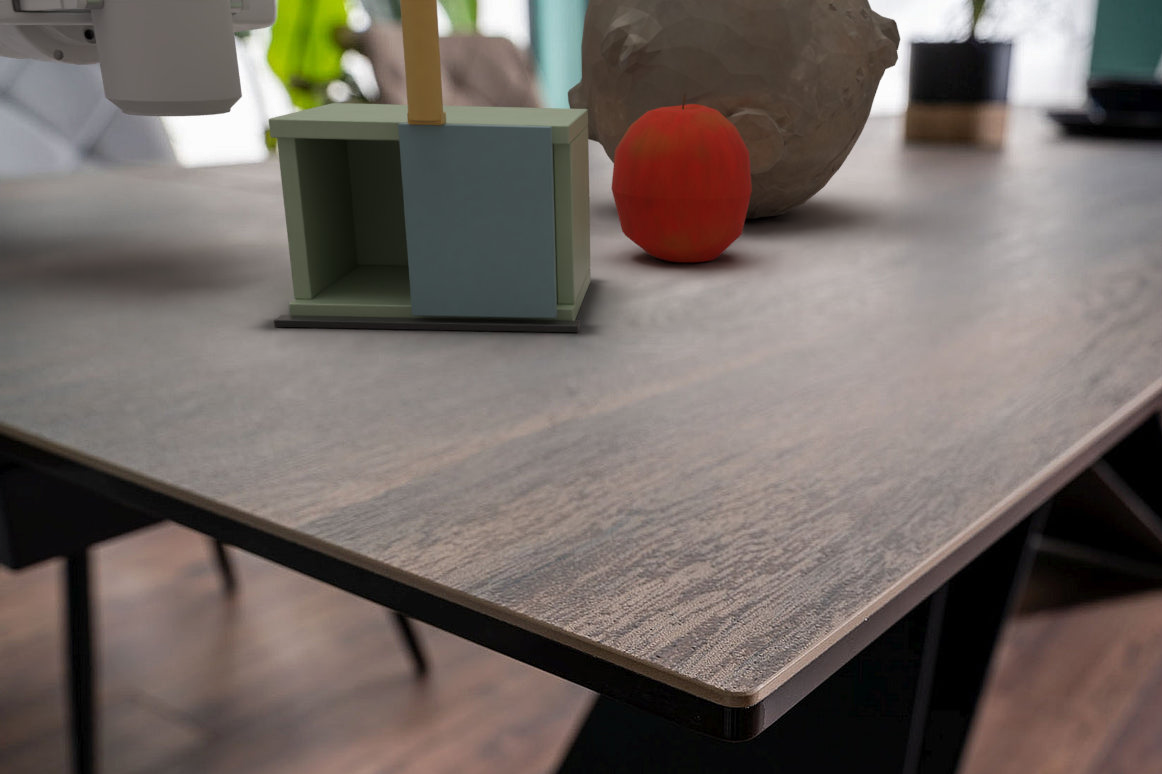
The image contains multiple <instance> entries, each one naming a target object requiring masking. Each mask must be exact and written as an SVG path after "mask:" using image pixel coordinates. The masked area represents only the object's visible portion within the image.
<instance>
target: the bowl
mask: <svg viewBox="0 0 1162 774" xmlns="http://www.w3.org/2000/svg"><path fill="white" fill-rule="evenodd" d="M900 43H901V36H900V31H899V28H898V24H897V22H896V19H893V18H889V17H886V16H882V15H881V14H879V13H877V12H876V11H875V10H873V9H872V7H871V4H870V2H869V0H588V4H587V7H586V10H585V15H584V20H583V29H582V37H581V46H580V48H581V49H580V50H581V51H580V52H581V55H580V56H581V78H580V81H579V82H578V83H577V84H575V85H574V86H573V87H571V88H569V90H568V91H567V101H568V105H569V109H587V110H588V125H587V126H588V141H593V142H597V143H599V144H600V145H601V146H602V148H603V150H604V152H605V154H606V156H607V157H608V159H610V161H611V162H612V164H614V157H615V149H616V147H617V146H618V144H619V143H620V141H621V140H622V138H623V136H624V135H625V133H626V132H627V130H628V129H629V127H630V125H632V124H633V123H634V122H635V121H636V120H638V119H639V118H640V117H641V116H643V115H644V114H645V113H646V112H647V111H650V110H654V109H657V108H661V107H670V106H680V105H683V99H684V94H685V95H686V99H685V104H684V105H689V104H698V105H703V106H706V107H709V108H712V109H715V110H717V111H719V112H720V113H721V114H722V115H723V116H724V117H725V118H726V119H728V120H729V121H730V122H731V123H732V124H733V125H734V126H735V127H736V128H737V130H738V132H739V134H740V136H741V138H742V140H743V141H744V143H745V145H746V147H747V149H748V151H749V158H750V173H751V188H752V191H751V196H750V200H749V205H748V209H747V213H746V218H745V220H752V219H759V218H770V217H777V216H781V215H783V214H786V213H789V212H790V211H792V210H794V209H795V208H798V207H799V206H801V205H805V204H806V202H807V201H808V200H810V199H811V198H813V197H814V196H815V195H816V194H818V193H819V192H820V191H821V190H822V189H823V188H825V187H826V185H828V183H829V181H830V180H831V179H832V178H833V177H834V175H835V174H836V173H838V171H839V170H840V169H841V167H842V166H843V164H844V163H845V161H846V160H847V158H848V157H849V156H850V154H851V152H852V150H853V148H854V147H855V145H856V144H857V142H858V140H859V138H860V136H861V135H862V134H863V131H864V129H865V126H866V124H867V122H868V120H869V117H870V115H871V111H872V108H873V104H874V101H875V98H876V94H877V91H878V88H879V85H880V82H881V80H882V79H883V77H884V75H885V72H886V70H887V69H891V68H893V67H895V66H896V64H897V61H898V60H899V55H898V50H899V46H900Z"/></svg>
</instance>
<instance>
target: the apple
mask: <svg viewBox="0 0 1162 774" xmlns="http://www.w3.org/2000/svg"><path fill="white" fill-rule="evenodd" d="M685 99H686V95H685V94H684V99H683V105H680V106H670V107H661V108H657V109H654V110H650V111H647V112H646V113H645V114H644V115H643V116H641V117H640V118H639V119H638V120H636V121H635V122H634V123H633V124H632V125H630V127H629V129H628V130H627V132H626V133H625V135H624V136H623V138H622V140H621V141H620V143H619V144H618V146H617V147H616V149H615V157H614V163H613V169H612V178H611V191H612V196H613V200H614V204H615V209H616V213H617V217H618V220H619V224H620V228H621V233H622V234H623V235H624V236H625V237H627V238H628V239H629V240H630V241H632V242H633V243H634V244H635V245H636V246H638V247H640V249H642V250H643V251H644V252H645V253H647V254H648V255H650V256H652V257H654V258H657V259H660V260H664V261H666V262H675V263H700V262H701V263H703V262H710V261H714V260H717V258H719V257H720V256H721V255H722V254H723V253H724V252H725V251H726V250H727V249H728V248H729V247H730V246H731V245H732V244H733V243H734V242H735V241H736V240H737V239H738V238H739V237H741V236H742V235H743V231H744V226H745V222H746V219H745V218H746V213H747V209H748V205H749V200H750V196H751V191H752V188H751V173H750V158H749V151H748V149H747V147H746V145H745V143H744V141H743V140H742V138H741V136H740V134H739V132H738V130H737V128H736V127H735V126H734V125H733V124H732V123H731V122H730V121H729V120H728V119H726V118H725V117H724V116H723V115H722V114H721V113H720V112H719V111H717V110H715V109H712V108H709V107H706V106H703V105H698V104H689V105H684V104H685Z"/></svg>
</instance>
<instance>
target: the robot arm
mask: <svg viewBox="0 0 1162 774" xmlns="http://www.w3.org/2000/svg"><path fill="white" fill-rule="evenodd" d="M230 5H231V13H232V21H233V29H234V33H239V32H247V31H254V30H261V29H267V28H269V27H271V26H273V25H274V24H275V23H276V20H277V0H230ZM103 7H104V0H0V57H2V58H3V57H4V58H9V59H18V60H30V59H31V60H35V61H39V62H46V63H47V62H48V63H57V64H66V65H74V66H75V65H76V66H90V65H97V64H100V62H99V56H98V50H97V44H96V38H95V32H94V26H93V20H92V14H91V9H102V8H103Z"/></svg>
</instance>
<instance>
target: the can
mask: <svg viewBox="0 0 1162 774" xmlns="http://www.w3.org/2000/svg"><path fill="white" fill-rule="evenodd" d="M91 14H92V20H93V26H94V32H95V38H96V44H97V50H98V56H99V62H100V63H99V69H100V73H101V81H102V87H103V92H104V97H105V99H107V100H108V101H109V102H111V103H112V104H113V105H114V106H115V107H117V108H118V109H120V110H121V112H122V113H123V114H126V115H130V116H139V117H140V116H141V117H200V116H213V115H215V116H216V115H221V114H222V115H223V114H226V113H230V112H231V110H232V109H231V108H233V106H234V105H236V103H237V102H238V101H240V99H241V98H242V97H243V94H242V92H243V91H242V86H241V85H242V84H241V77H240V70H239V69H240V68H239V62H238V53H237V45H236V38H235V37H236V36H235V32H234V29H233V21H232V13H231V5H230V0H104V7H103V8H102V9H91Z"/></svg>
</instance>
